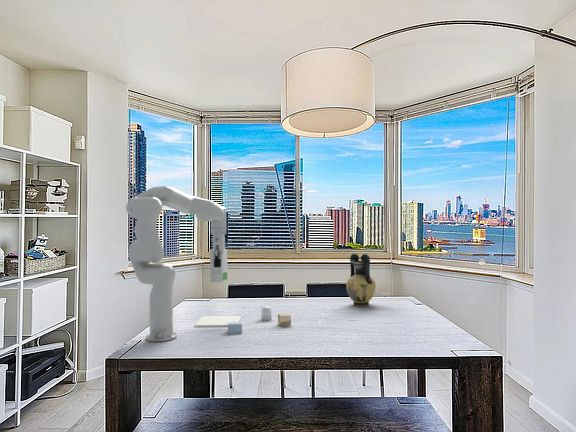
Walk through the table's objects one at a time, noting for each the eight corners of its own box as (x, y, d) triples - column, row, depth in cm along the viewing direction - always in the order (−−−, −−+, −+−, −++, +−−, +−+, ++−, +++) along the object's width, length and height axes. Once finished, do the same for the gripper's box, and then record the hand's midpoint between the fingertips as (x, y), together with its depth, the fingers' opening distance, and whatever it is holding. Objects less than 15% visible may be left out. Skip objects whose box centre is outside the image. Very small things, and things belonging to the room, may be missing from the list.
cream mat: (237, 326, 207) (237, 324, 207) (194, 326, 207) (194, 325, 207) (241, 317, 227) (241, 315, 227) (202, 317, 227) (202, 316, 227)
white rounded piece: (271, 320, 220) (271, 308, 220) (261, 320, 220) (261, 308, 220) (271, 318, 225) (271, 306, 225) (261, 318, 225) (261, 306, 225)
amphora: (340, 304, 260) (339, 253, 261) (358, 301, 271) (357, 252, 272) (364, 308, 247) (363, 255, 248) (382, 305, 258) (381, 253, 259)
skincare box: (222, 282, 213) (222, 250, 213) (209, 282, 214) (209, 249, 214) (227, 280, 221) (227, 249, 221) (215, 280, 222) (215, 248, 223)
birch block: (290, 325, 208) (290, 315, 208) (280, 326, 207) (280, 315, 207) (288, 323, 213) (287, 313, 213) (277, 324, 211) (277, 313, 211)
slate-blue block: (242, 333, 195) (241, 324, 195) (228, 333, 194) (228, 324, 194) (241, 331, 199) (241, 322, 199) (227, 331, 198) (227, 322, 198)
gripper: (223, 231, 210) (224, 267, 209) (228, 231, 227) (228, 264, 226) (207, 231, 209) (208, 268, 209) (213, 231, 227) (213, 264, 226)
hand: (218, 266), depth 218 cm, fingers closed on skincare box, 9 cm apart
